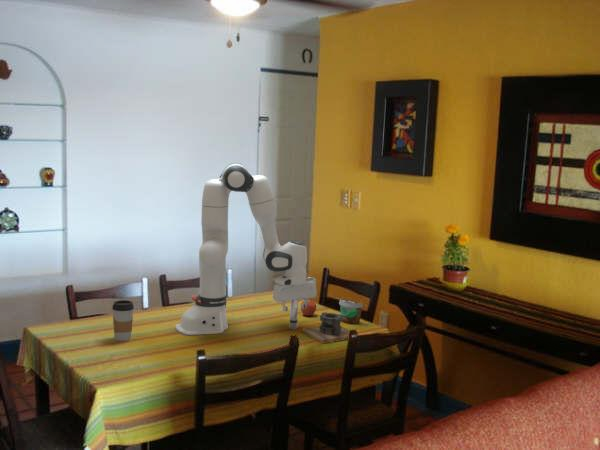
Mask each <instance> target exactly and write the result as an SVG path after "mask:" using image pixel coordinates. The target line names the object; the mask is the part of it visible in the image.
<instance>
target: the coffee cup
mask: <svg viewBox="0 0 600 450" xmlns="http://www.w3.org/2000/svg"><path fill="white" fill-rule="evenodd" d="M133 303H134V302H133V301H131V300H126V299H125V300H124V299H123V300H122V299H121V300H115V301H114V302H113V304H112V308H111V309H112V321H113V334H114V337H113V338H114V339H115V341H116V342H128V341H130V340H131V338H132V330H133V319H134V317H133V315H134V309H135V308H134V304H133Z"/></svg>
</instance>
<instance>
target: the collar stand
mask: <svg viewBox="0 0 600 450" xmlns="http://www.w3.org/2000/svg"><path fill="white" fill-rule="evenodd" d="M319 315H320V316H319V321H320V322H321V324H320V325H319V326H313V327H308V328H302V331H301V332H302V334H304V333H305V334H304V335H306V334H307V335H306V336H308V335H309V336H308V337H310V336H311V337H310V338H312V337H313V338H312V339H314V340H315V339H316V341H317V340H318V341H317V342H319V341H320V342H319V343H321V342H322V343H321V344H324V343H323V342H329V343H332V342H331V341H336V340H342V339H343V340H342V341H346V340H345V339H348V334H349V331H351V330H350V329H348V328H346V327H344V326H341V323H342V322H341V321H342V316H341V314H339V313H335V312H327V311H326V312H321V314H319ZM336 342H337V341H336Z"/></svg>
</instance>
